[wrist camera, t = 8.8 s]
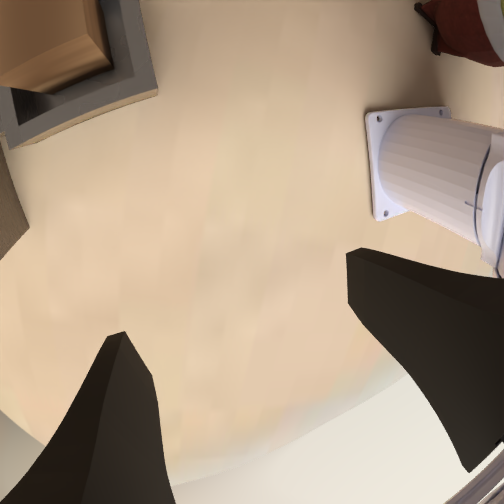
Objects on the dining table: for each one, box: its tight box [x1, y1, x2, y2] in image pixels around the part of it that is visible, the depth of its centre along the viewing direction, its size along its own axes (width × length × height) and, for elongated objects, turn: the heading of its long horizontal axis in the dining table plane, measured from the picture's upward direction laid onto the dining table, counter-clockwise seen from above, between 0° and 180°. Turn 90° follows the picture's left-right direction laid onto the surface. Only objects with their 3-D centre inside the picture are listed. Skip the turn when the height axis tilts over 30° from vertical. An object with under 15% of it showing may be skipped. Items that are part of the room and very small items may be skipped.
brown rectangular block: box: [0, 0, 115, 95], centre depth 8 cm, size 4×4×7 cm
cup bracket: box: [0, 0, 158, 260], centre depth 9 cm, size 11×16×5 cm
